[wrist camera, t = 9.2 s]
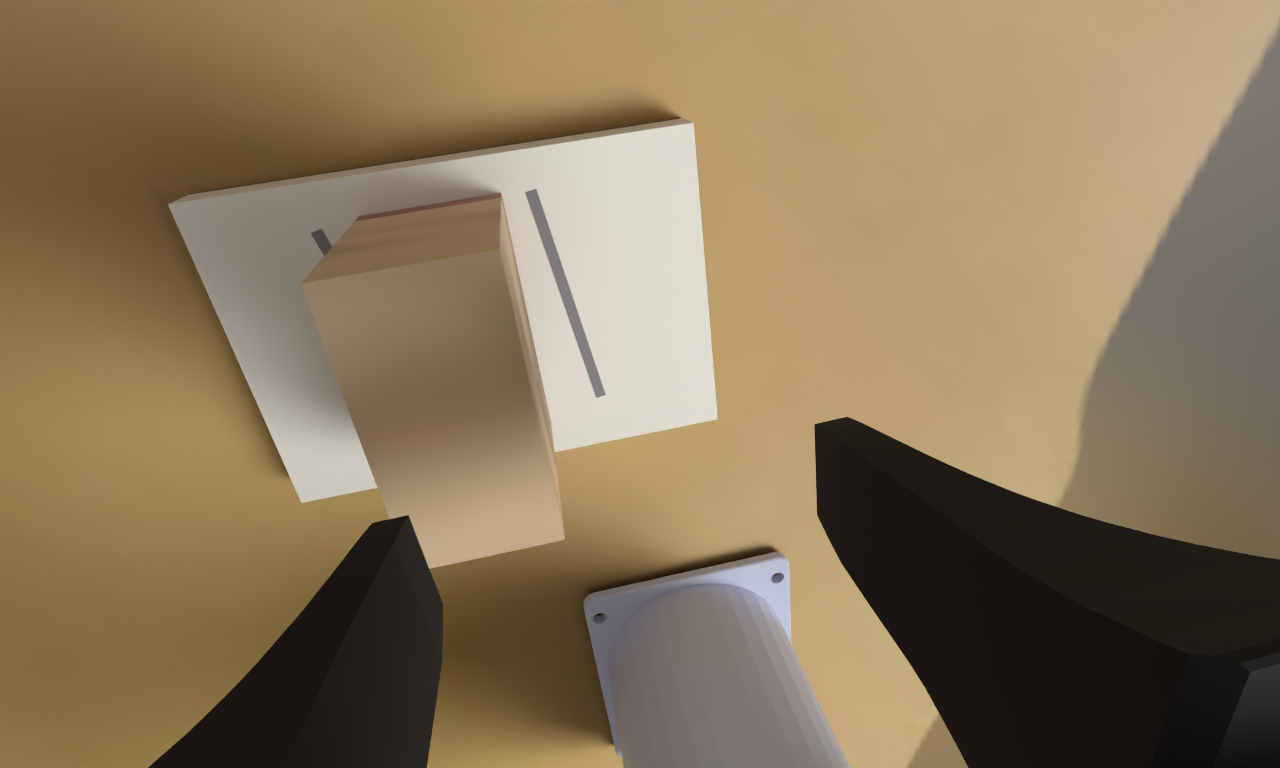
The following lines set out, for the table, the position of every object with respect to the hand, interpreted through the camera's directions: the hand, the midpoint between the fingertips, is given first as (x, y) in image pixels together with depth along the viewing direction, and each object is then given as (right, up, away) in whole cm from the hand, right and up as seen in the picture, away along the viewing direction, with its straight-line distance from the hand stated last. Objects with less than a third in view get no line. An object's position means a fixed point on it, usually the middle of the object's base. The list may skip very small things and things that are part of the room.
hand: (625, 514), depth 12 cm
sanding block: (-5, +4, +7) cm, 9 cm away
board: (-4, +4, +8) cm, 10 cm away
